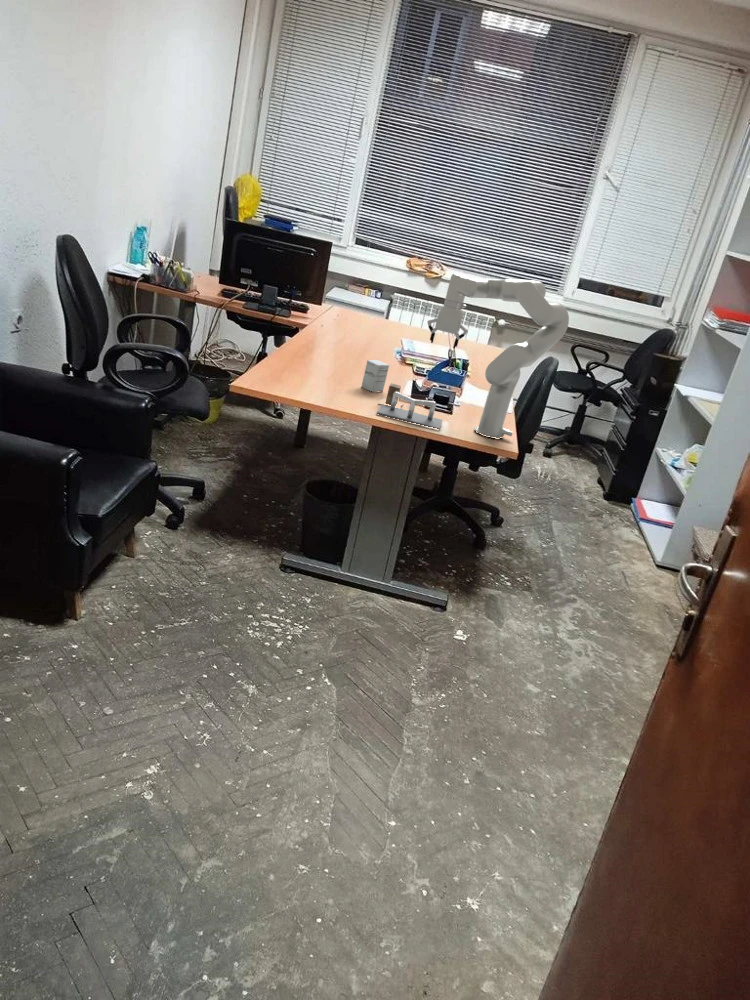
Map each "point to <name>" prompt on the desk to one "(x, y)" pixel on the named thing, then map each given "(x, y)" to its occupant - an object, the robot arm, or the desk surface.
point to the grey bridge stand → (413, 404)
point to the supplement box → (375, 375)
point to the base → (415, 418)
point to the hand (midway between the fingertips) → (442, 345)
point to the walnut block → (392, 392)
